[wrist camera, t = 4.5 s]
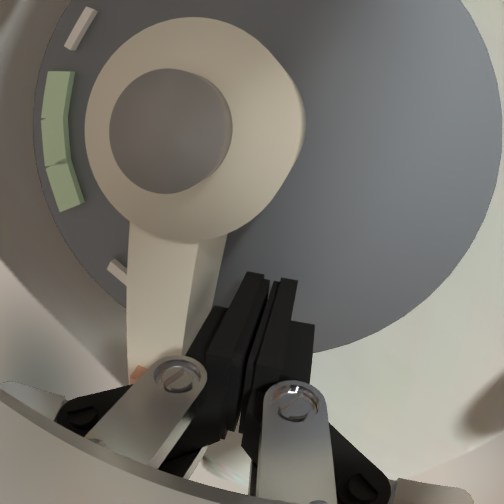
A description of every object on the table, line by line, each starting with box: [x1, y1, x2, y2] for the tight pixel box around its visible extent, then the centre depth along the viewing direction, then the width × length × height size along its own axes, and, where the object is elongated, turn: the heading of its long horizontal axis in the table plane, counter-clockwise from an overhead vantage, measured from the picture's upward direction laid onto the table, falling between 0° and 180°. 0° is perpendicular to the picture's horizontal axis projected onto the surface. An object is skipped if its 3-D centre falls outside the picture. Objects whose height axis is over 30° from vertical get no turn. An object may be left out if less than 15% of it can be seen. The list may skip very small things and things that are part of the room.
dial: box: [33, 0, 502, 353], centre depth 10 cm, size 18×18×2 cm
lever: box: [85, 17, 306, 385], centre depth 9 cm, size 11×5×4 cm, turn 167°
